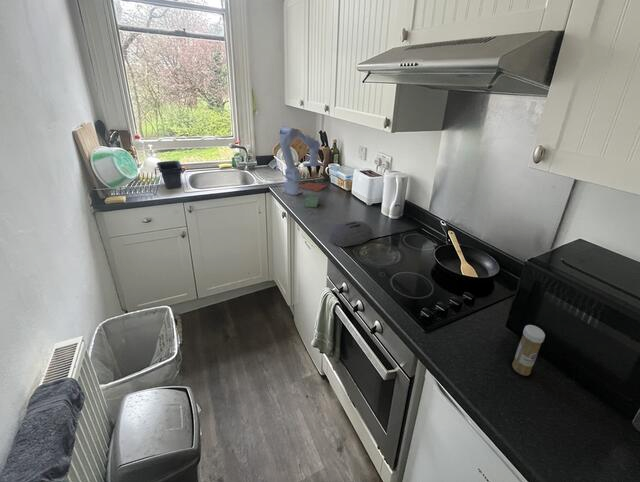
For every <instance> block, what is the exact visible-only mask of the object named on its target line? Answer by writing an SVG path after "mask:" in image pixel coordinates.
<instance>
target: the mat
mask: <svg viewBox="0 0 640 482" xmlns="http://www.w3.org/2000/svg"><path fill="white" fill-rule="evenodd" d="M327 187H328V185H326V184H320V183H317V182H311V181H308V182H305V183H303V184H302V185H299V189H304V190H309V191H314V192H316V193H317V192H320V191H322V190H323V189H325V188H327Z"/></svg>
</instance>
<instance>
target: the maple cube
mask: <svg viewBox="0 0 640 482" xmlns="http://www.w3.org/2000/svg"><path fill="white" fill-rule="evenodd" d="M310 178H311V179H317V178H318V176H317V172H316V170H312V171H311V177H310Z"/></svg>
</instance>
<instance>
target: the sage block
mask: <svg viewBox="0 0 640 482" xmlns="http://www.w3.org/2000/svg"><path fill="white" fill-rule="evenodd" d="M318 205H319V196H311V195H309V196H306V198H305V199H304V207H306V208H307V207H309V208H317V207H318Z"/></svg>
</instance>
